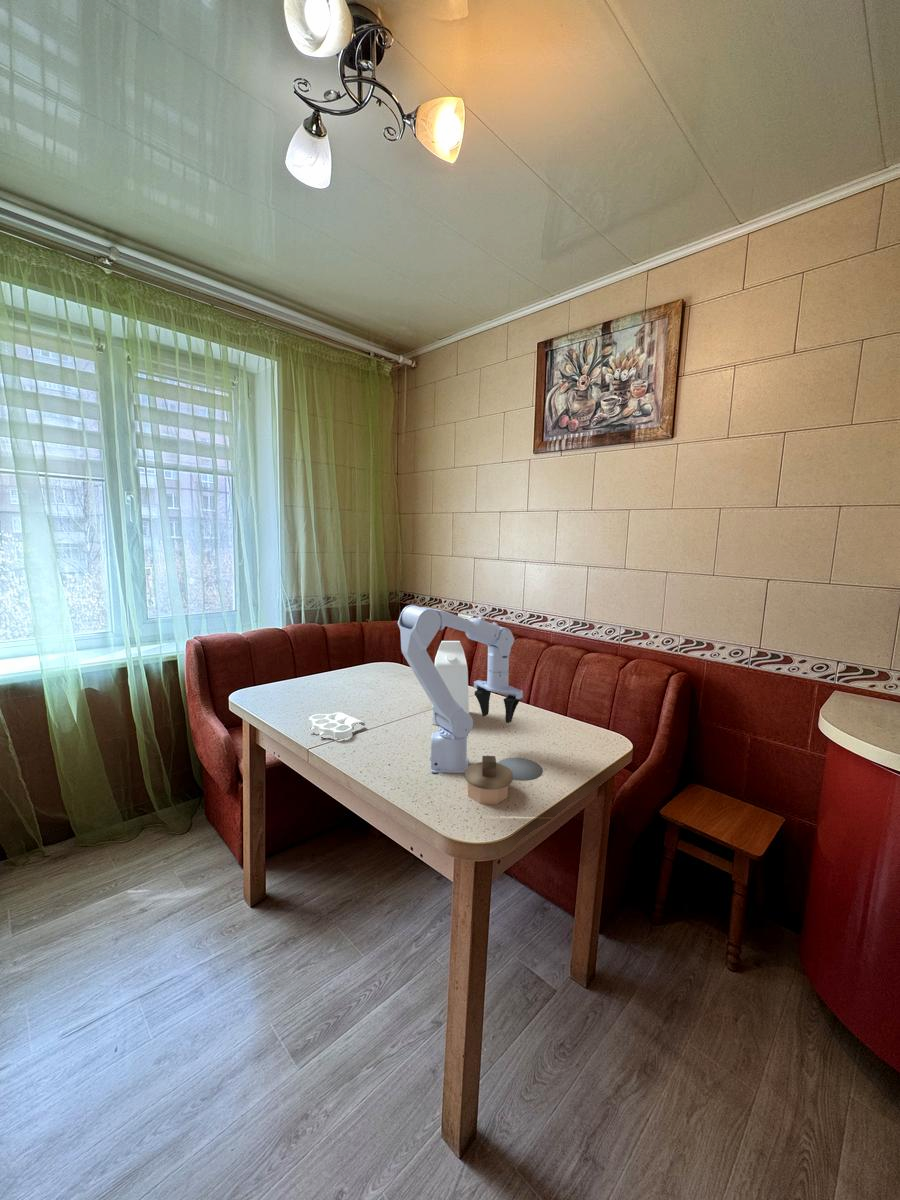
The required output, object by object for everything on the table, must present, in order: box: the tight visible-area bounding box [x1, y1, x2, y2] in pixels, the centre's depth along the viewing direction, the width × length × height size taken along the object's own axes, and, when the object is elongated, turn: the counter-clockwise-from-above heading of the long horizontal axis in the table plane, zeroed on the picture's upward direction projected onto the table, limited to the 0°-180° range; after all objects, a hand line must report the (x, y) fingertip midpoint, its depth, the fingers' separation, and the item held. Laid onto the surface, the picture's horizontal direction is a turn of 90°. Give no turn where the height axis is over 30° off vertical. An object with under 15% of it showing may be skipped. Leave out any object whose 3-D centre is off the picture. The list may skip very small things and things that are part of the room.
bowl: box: [466, 781, 509, 805], centre depth 104 cm, size 9×9×4 cm
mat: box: [497, 756, 544, 782], centre depth 115 cm, size 12×12×1 cm
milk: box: [431, 640, 470, 726], centre depth 148 cm, size 12×12×26 cm
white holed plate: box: [308, 711, 366, 739], centre depth 139 cm, size 3×18×15 cm
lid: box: [464, 755, 514, 789], centre depth 103 cm, size 11×11×4 cm
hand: (496, 718), depth 123 cm, fingers open, 7 cm apart
